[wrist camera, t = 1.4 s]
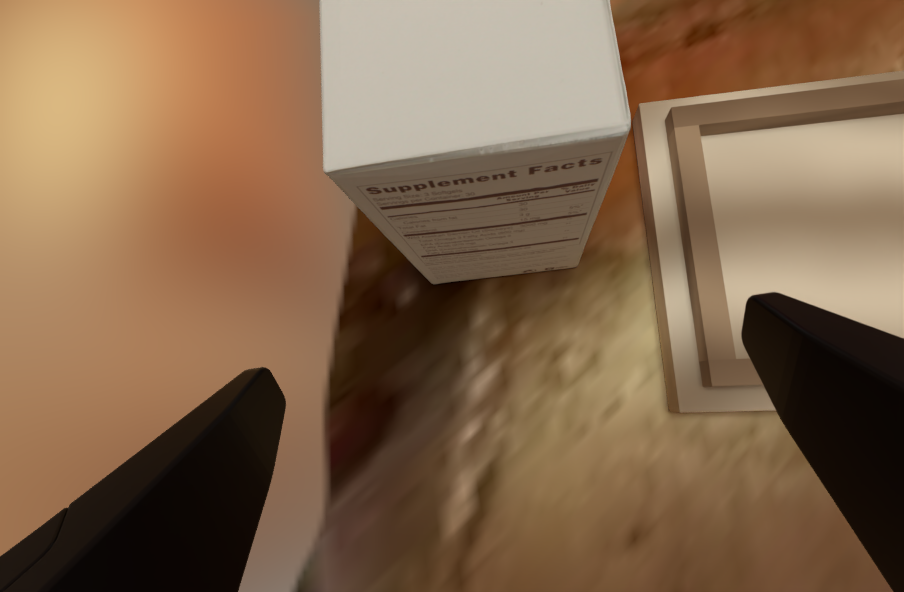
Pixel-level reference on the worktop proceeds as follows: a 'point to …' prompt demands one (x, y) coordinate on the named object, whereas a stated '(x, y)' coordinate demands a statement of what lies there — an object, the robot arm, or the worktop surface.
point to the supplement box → (474, 126)
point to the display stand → (769, 220)
